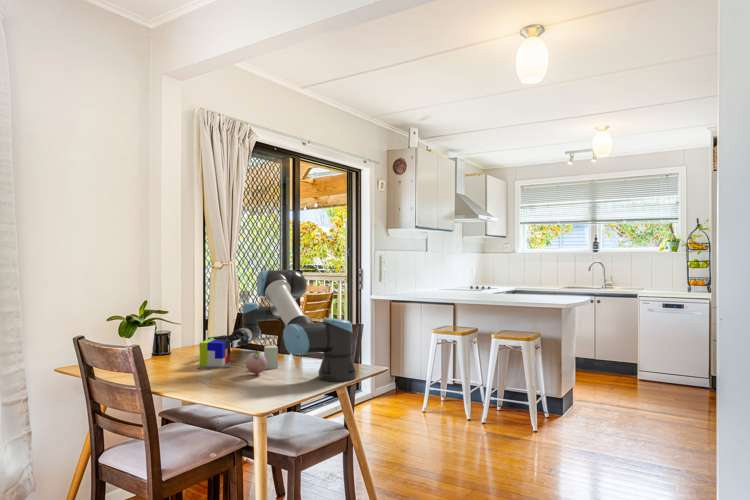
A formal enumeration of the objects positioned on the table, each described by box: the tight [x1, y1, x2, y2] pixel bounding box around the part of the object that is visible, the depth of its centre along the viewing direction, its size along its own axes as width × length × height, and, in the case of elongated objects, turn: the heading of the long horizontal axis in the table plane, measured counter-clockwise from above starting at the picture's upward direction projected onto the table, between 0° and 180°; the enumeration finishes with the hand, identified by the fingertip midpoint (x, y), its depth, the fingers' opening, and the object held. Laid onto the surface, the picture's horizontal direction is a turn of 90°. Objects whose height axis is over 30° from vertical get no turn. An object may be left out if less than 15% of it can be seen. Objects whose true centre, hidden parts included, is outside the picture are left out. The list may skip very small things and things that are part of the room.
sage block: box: [263, 344, 279, 370], centre depth 220 cm, size 5×5×9 cm
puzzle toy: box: [199, 338, 231, 366], centre depth 224 cm, size 10×10×10 cm
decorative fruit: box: [245, 349, 267, 376], centre depth 206 cm, size 9×8×10 cm
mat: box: [197, 359, 233, 370], centre depth 224 cm, size 13×13×1 cm
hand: (219, 344), depth 229 cm, fingers open, 13 cm apart
